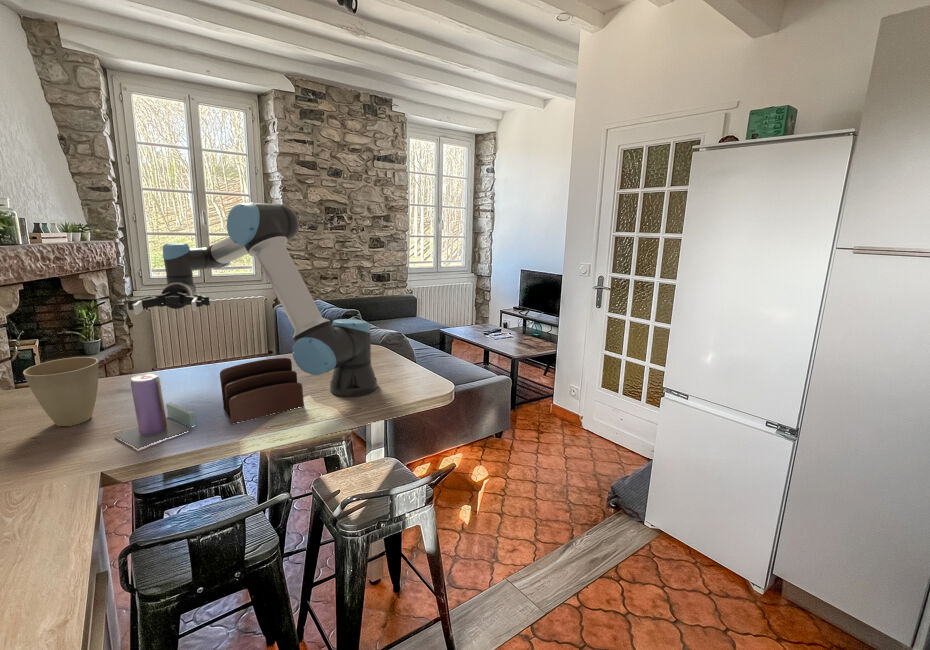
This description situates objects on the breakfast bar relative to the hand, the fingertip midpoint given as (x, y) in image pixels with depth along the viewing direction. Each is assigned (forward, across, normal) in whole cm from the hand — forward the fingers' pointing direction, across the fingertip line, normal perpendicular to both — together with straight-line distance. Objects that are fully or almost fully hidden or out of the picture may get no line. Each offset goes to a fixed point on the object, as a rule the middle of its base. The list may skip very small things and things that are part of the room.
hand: (165, 308), depth 124 cm
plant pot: (-1, +25, -30) cm, 39 cm away
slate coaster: (+16, +4, -30) cm, 34 cm away
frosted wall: (+10, -2, -30) cm, 32 cm away
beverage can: (+16, +4, -29) cm, 34 cm away
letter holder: (+10, -23, -30) cm, 39 cm away
